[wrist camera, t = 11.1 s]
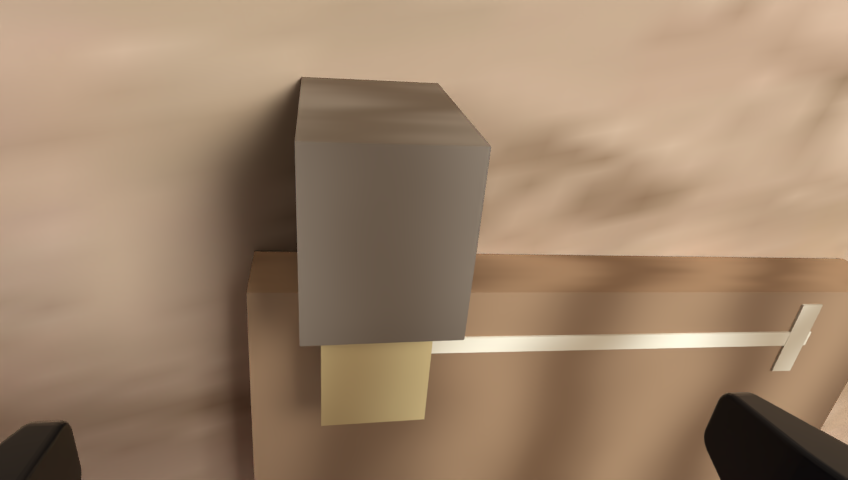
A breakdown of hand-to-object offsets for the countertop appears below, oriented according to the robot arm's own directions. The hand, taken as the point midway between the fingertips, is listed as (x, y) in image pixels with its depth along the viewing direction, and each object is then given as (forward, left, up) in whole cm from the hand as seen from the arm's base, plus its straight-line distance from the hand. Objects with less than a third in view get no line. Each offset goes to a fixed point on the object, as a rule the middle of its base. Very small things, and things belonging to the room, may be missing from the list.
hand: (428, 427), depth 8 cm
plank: (-12, -1, -11) cm, 16 cm away
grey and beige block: (-2, +1, -11) cm, 12 cm away
